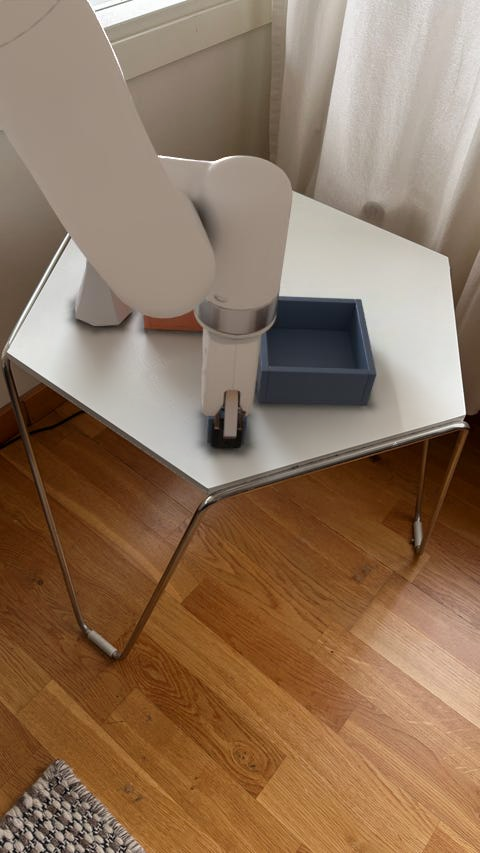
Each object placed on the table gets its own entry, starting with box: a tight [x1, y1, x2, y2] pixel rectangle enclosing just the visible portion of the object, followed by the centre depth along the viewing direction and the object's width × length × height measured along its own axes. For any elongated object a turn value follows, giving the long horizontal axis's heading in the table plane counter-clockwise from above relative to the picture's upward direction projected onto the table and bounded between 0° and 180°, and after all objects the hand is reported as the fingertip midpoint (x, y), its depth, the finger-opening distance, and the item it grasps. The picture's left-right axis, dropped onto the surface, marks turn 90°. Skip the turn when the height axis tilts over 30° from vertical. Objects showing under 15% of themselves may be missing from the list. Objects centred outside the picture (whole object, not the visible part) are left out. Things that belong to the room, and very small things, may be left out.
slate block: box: [206, 411, 248, 445], centre depth 76 cm, size 4×4×4 cm
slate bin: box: [256, 295, 377, 406], centre depth 83 cm, size 13×13×5 cm
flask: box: [74, 259, 133, 327], centre depth 85 cm, size 7×7×10 cm
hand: (225, 427), depth 77 cm, fingers closed on slate block, 4 cm apart
